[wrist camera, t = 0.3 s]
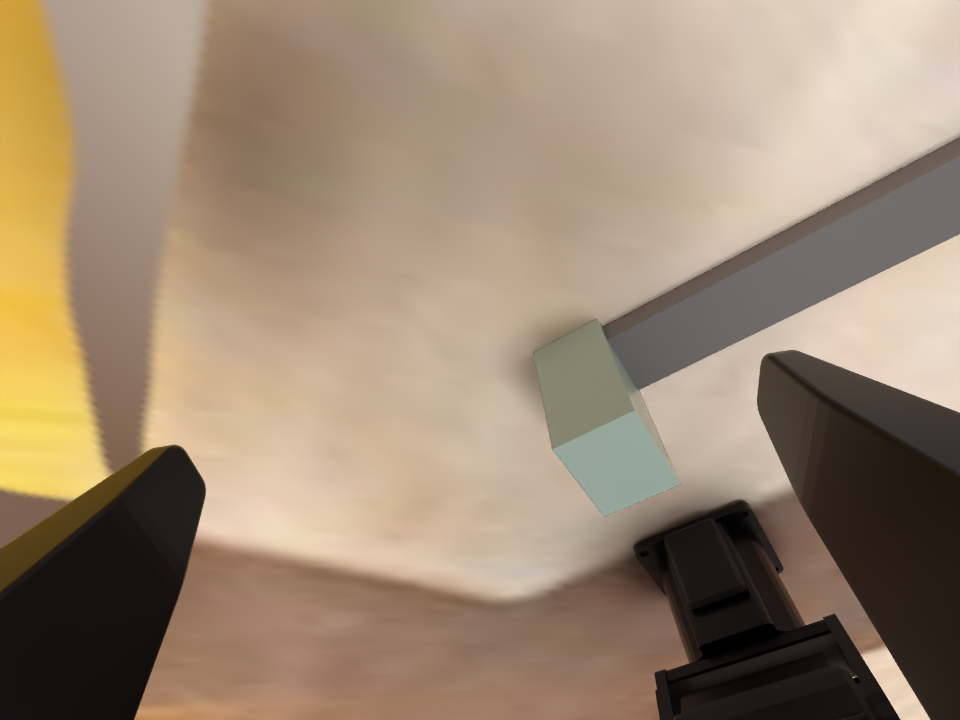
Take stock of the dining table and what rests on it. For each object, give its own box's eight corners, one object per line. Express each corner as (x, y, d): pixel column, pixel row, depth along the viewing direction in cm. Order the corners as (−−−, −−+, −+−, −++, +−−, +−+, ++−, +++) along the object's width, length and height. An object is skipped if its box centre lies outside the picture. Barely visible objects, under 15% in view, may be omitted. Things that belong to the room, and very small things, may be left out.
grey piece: (997, 207, 20) (1170, 276, 15) (576, 413, 25) (604, 516, 20) (985, 109, 19) (1178, 151, 14) (533, 352, 23) (552, 449, 18)
